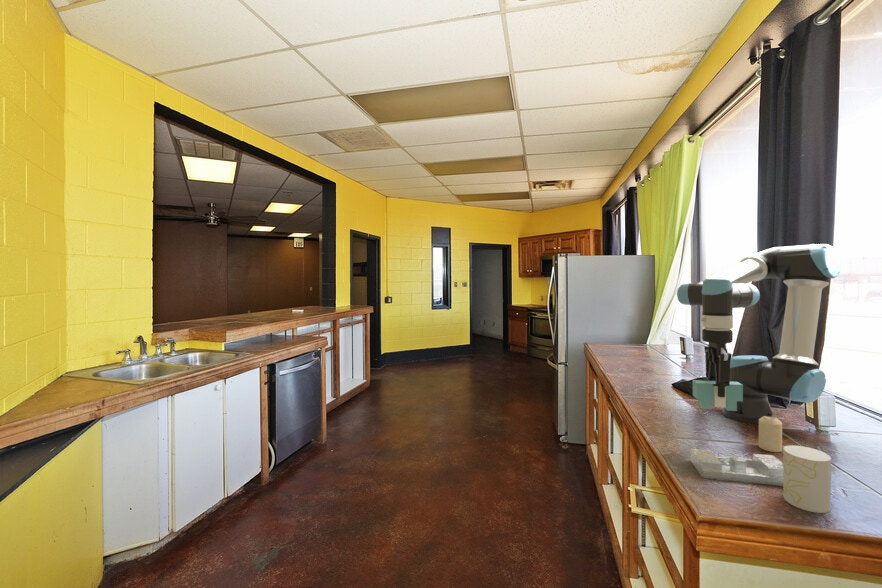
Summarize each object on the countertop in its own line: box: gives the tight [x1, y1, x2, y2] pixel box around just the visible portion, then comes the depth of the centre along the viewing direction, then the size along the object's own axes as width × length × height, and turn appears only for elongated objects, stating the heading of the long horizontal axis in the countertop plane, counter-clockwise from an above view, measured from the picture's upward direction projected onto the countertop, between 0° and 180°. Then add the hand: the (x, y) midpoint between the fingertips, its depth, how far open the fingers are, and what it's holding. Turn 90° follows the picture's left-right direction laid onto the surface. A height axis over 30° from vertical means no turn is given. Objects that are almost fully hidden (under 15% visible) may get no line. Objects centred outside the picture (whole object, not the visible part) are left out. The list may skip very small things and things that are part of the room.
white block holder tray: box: [689, 448, 783, 487], centre depth 105 cm, size 20×10×4 cm, turn 74°
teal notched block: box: [692, 379, 743, 411], centre depth 117 cm, size 12×4×8 cm, turn 73°
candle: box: [758, 416, 783, 453], centre depth 118 cm, size 6×6×10 cm
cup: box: [782, 445, 832, 514], centre depth 91 cm, size 8×8×12 cm
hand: (717, 404), depth 117 cm, fingers closed on teal notched block, 3 cm apart
